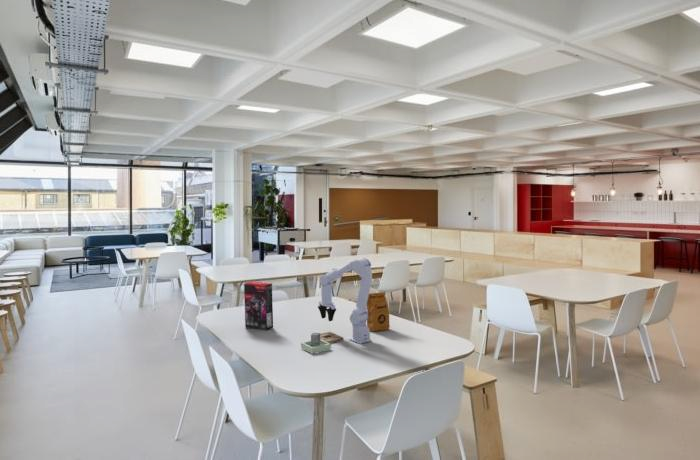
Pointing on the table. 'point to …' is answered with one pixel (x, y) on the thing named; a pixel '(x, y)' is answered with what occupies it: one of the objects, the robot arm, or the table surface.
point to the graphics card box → (258, 305)
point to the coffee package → (377, 312)
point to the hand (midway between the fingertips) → (327, 319)
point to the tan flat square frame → (330, 337)
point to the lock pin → (315, 339)
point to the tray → (322, 347)
